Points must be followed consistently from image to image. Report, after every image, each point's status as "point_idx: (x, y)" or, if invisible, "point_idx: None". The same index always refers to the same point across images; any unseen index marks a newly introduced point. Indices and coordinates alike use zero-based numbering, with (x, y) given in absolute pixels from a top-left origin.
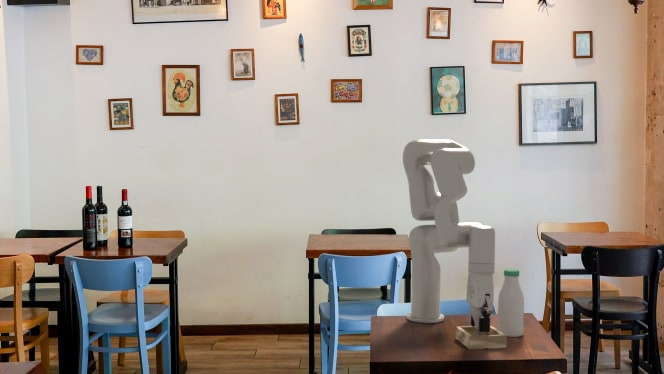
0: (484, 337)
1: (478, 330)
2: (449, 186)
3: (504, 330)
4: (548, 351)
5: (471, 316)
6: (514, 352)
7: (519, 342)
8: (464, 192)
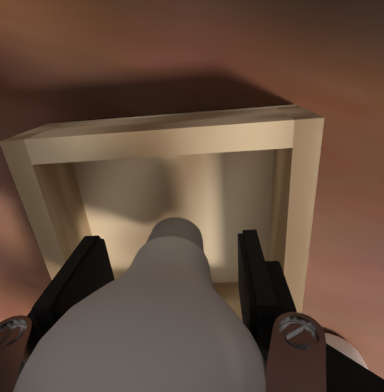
0: (38, 231)
1: (149, 240)
2: None
3: None
4: None
5: (257, 279)
6: (31, 295)
7: None
8: None
